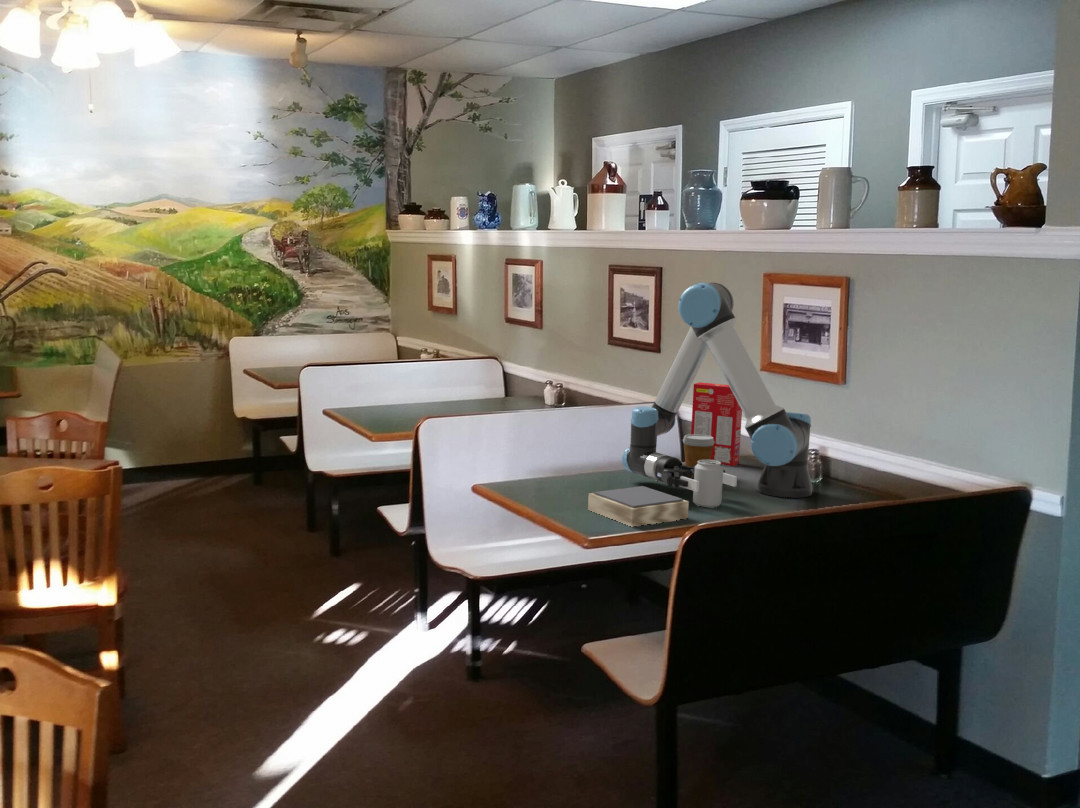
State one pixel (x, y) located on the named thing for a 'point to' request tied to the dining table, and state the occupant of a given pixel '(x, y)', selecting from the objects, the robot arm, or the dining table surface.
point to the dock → (638, 506)
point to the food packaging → (718, 420)
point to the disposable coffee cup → (697, 448)
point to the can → (708, 483)
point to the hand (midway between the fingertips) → (717, 484)
